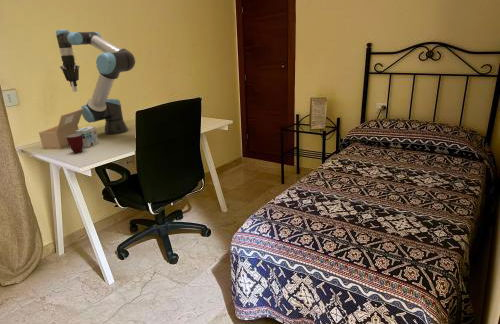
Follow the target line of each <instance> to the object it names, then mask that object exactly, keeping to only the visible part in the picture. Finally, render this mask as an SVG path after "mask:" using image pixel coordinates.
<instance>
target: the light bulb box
mask: <svg viewBox="0 0 500 324" xmlns="http://www.w3.org/2000/svg"><path fill="white" fill-rule="evenodd" d="M78 129H79V128H78ZM76 134H82V138H83V148H86V149H87V148H88V149H89V148H91V147H93V146H95V145H97V144H99V138H98V133H97V128H96V126H84V127H81V128H80V129H79V130H76Z"/></svg>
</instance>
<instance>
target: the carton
mask: <svg viewBox="0 0 500 324" xmlns="http://www.w3.org/2000/svg"><path fill="white" fill-rule="evenodd" d="M57 128H58V125H56V126H53V127H51V128H48V129H45V130H42V131H40V132H38V134H39V139H40V142H41V145H42V148H43V149H62V148H64V147H67V146H68V145H69V144H68V141H67V136H68V135H71V134H76V130H79V124H78V125H75V126H72V127H70V128H67V129H65V130H62V131H59V132H56V131H57Z"/></svg>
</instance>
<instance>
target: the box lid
mask: <svg viewBox="0 0 500 324" xmlns="http://www.w3.org/2000/svg"><path fill="white" fill-rule="evenodd" d="M82 112H83V108H82V109H81V108H78V109H76V110H73V111H70V112H67V113H64V114H63V113H62V114H61V115H60V119H59V123H58V125H57V126H58V128H57V131H56V132H59V131H62V130H65V129H67V128H70V127H72V126H75V125H78V126H79V123H80V120H81V117H82Z"/></svg>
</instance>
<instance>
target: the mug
mask: <svg viewBox="0 0 500 324" xmlns="http://www.w3.org/2000/svg"><path fill="white" fill-rule="evenodd" d="M67 141H68V144H69V148H70V149H71V151H72V152H73V153H74V154H79V153H81V152H82V151H83V138H82V134H71V135H68V136H67Z"/></svg>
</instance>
